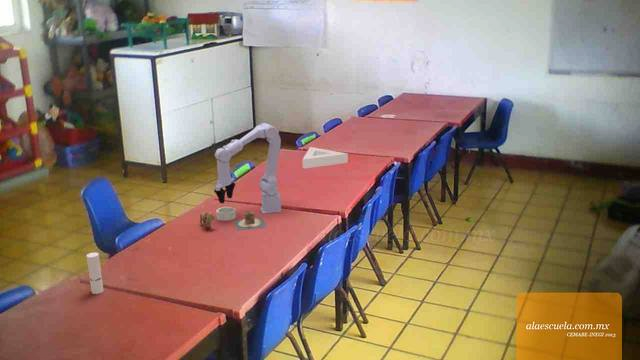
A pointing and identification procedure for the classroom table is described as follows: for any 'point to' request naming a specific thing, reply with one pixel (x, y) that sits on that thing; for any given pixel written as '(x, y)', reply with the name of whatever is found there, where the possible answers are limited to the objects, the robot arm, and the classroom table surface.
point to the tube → (95, 273)
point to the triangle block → (323, 158)
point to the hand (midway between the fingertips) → (225, 200)
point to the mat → (250, 228)
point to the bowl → (225, 213)
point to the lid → (249, 220)
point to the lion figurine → (206, 219)
